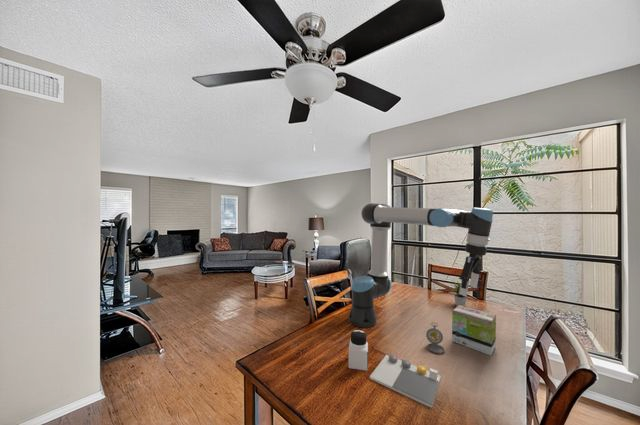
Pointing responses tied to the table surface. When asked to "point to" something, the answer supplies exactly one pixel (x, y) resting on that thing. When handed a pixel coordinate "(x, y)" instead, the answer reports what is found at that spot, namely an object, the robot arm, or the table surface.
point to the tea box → (474, 329)
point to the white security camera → (358, 351)
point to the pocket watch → (435, 340)
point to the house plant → (458, 295)
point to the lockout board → (407, 379)
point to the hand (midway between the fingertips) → (468, 291)
